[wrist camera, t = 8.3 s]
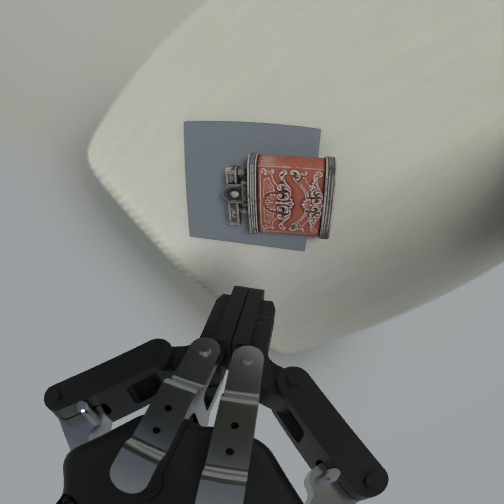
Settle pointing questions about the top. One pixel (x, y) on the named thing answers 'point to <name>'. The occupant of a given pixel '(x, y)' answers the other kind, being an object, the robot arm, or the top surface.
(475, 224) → the top surface
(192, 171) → the mat
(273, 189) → the lighter
